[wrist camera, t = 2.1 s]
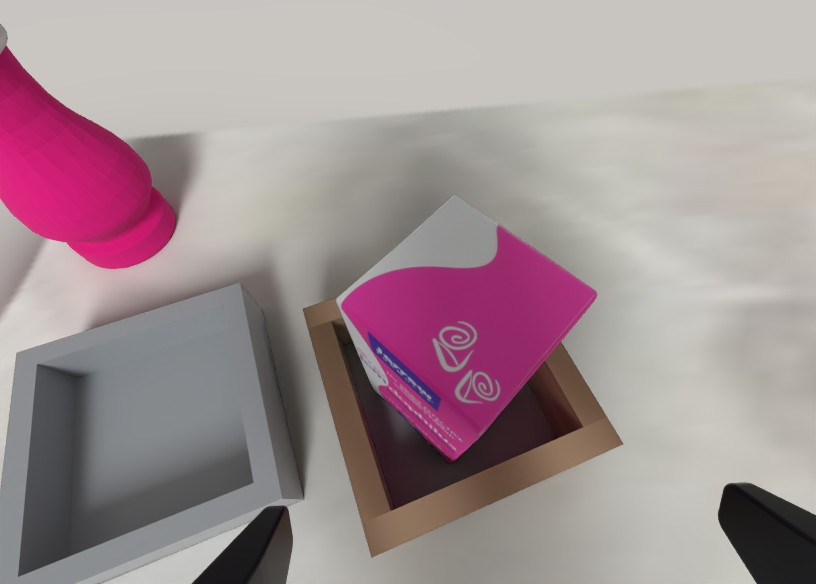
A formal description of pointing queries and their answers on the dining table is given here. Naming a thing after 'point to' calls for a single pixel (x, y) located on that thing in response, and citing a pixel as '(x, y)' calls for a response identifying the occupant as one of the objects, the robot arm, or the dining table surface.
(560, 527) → the dining table surface
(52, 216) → the pepper mill
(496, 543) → the dining table surface
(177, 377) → the tray
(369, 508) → the holder
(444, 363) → the supplement box
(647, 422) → the dining table surface
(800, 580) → the robot arm
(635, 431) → the dining table surface
